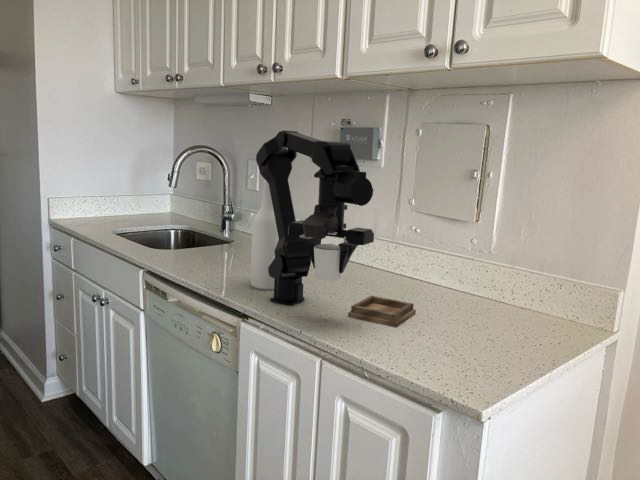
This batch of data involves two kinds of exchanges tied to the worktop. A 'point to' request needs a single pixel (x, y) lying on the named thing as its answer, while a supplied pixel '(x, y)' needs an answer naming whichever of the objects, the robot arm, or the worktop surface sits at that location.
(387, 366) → the worktop surface
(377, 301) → the walnut holder
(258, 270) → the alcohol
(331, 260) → the white cup
